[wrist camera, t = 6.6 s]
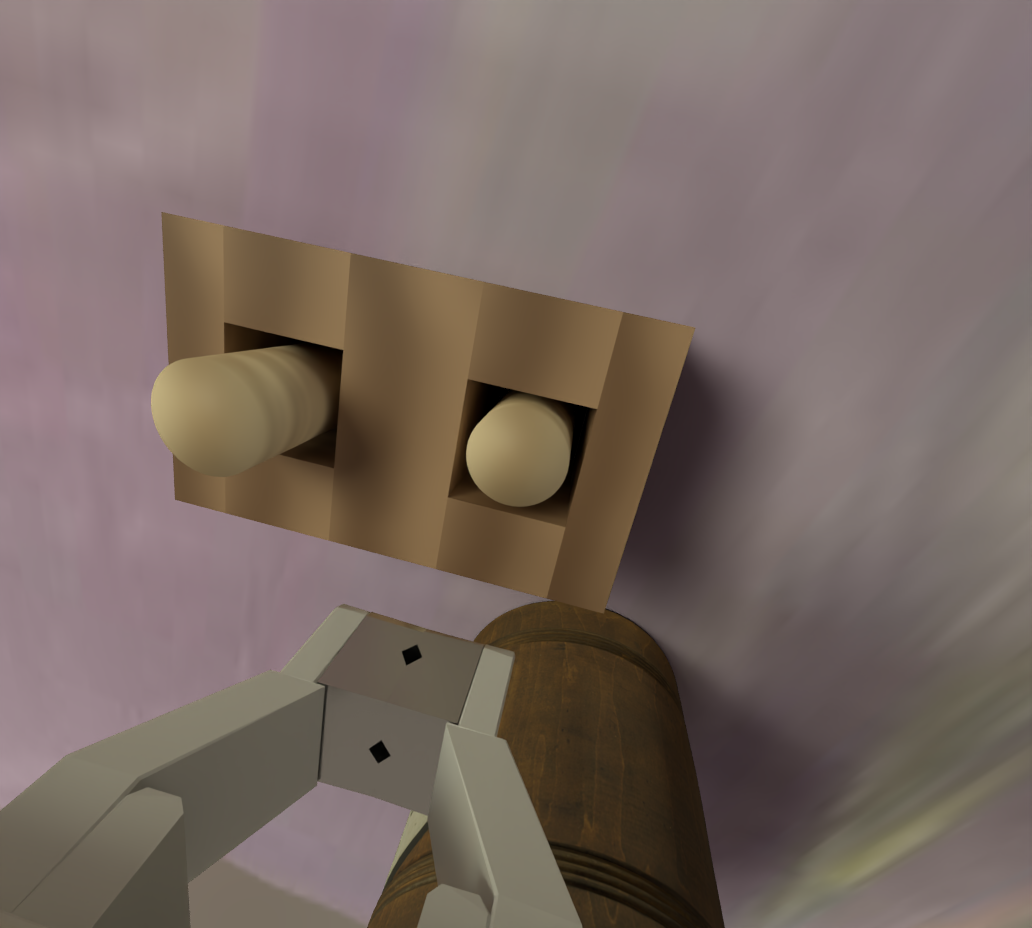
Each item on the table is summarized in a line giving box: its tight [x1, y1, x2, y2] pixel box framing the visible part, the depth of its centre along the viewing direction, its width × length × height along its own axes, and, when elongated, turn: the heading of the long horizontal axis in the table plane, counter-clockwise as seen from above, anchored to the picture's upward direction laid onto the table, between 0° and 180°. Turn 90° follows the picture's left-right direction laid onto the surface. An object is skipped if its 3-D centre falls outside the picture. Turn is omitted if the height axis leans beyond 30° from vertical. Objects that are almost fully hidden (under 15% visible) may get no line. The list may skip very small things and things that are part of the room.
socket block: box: [162, 212, 695, 614], centre depth 23 cm, size 20×12×9 cm, turn 78°
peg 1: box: [151, 342, 343, 477], centre depth 19 cm, size 4×4×8 cm
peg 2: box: [466, 389, 576, 507], centre depth 22 cm, size 4×4×8 cm
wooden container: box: [367, 601, 725, 928], centre depth 23 cm, size 15×15×22 cm
